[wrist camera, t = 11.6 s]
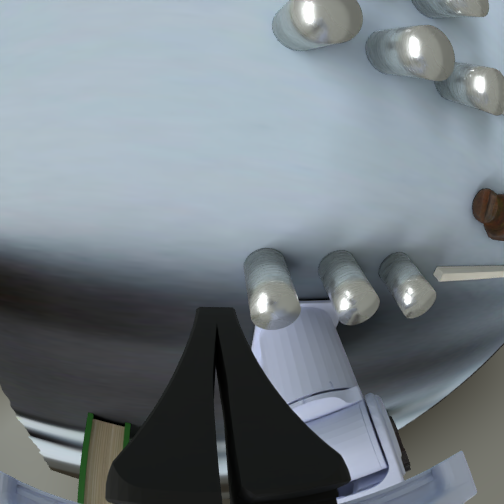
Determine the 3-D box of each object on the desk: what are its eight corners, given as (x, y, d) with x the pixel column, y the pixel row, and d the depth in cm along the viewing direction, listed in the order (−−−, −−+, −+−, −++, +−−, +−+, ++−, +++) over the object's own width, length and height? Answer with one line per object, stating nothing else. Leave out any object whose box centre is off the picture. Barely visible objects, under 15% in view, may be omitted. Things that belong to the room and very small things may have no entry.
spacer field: (400, 280, 25) (425, 316, 21) (241, 281, 23) (248, 330, 19) (467, 10, 10) (512, 12, 6) (284, -69, 8) (305, -104, 4)
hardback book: (88, 412, 35) (77, 541, 16) (130, 423, 38) (127, 552, 18) (93, 439, 44) (87, 535, 24) (125, 447, 46) (124, 543, 27)
